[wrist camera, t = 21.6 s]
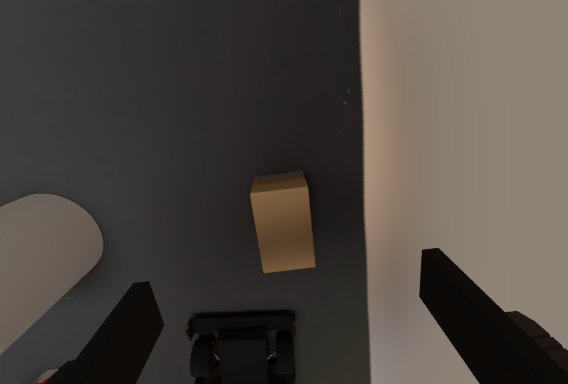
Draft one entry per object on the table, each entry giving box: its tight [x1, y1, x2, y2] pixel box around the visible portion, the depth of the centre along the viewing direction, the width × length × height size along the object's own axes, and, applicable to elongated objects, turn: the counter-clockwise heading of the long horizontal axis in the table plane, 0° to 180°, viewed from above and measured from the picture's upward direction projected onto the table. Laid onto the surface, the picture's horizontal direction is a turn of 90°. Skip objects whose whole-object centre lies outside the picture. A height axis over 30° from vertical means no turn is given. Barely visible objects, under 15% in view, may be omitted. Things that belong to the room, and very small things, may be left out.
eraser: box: [250, 170, 316, 273], centre depth 22 cm, size 6×4×4 cm, turn 7°
